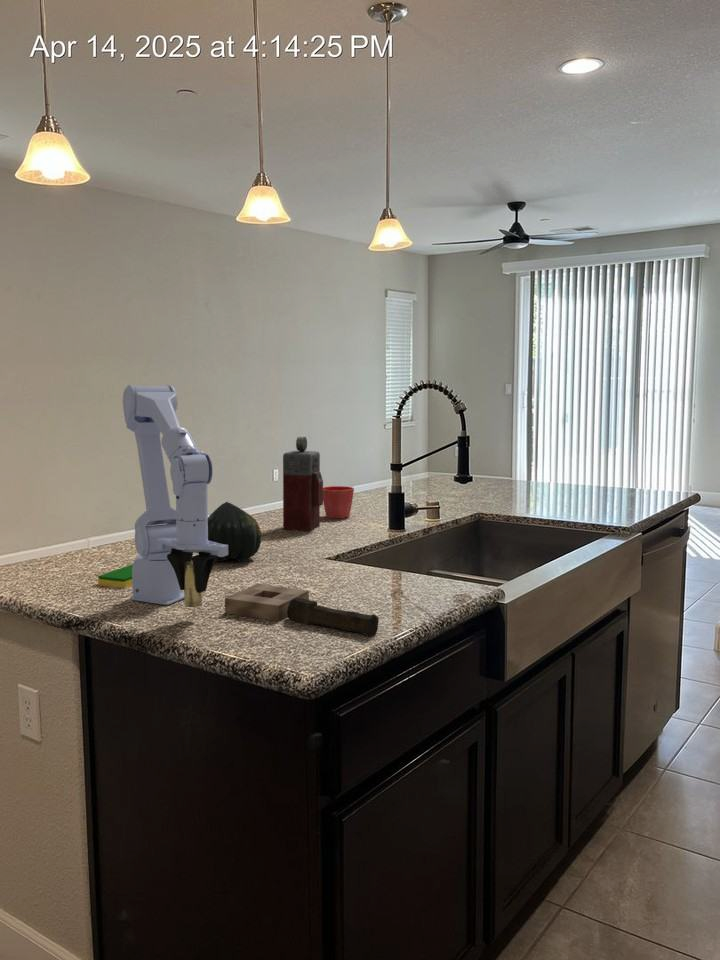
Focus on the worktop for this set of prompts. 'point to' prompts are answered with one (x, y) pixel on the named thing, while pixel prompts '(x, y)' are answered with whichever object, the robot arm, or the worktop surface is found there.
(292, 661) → the worktop surface
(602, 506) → the worktop surface
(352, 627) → the hand tool
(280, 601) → the socket block
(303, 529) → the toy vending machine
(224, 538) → the squash
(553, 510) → the worktop surface
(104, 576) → the dish sponge
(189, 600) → the brass peg
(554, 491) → the worktop surface
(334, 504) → the flower pot
